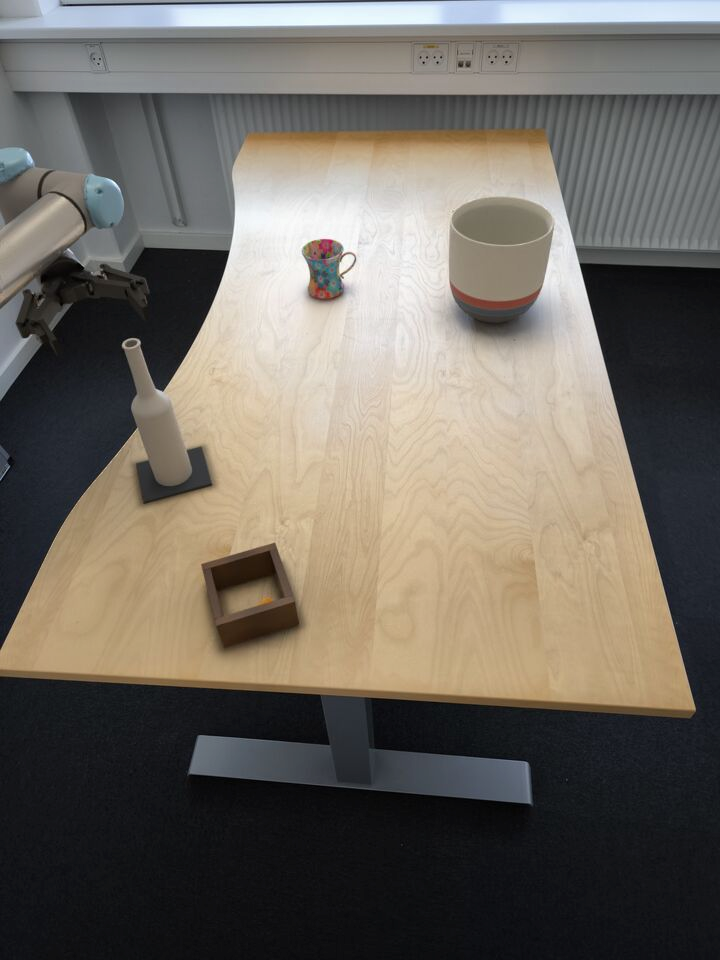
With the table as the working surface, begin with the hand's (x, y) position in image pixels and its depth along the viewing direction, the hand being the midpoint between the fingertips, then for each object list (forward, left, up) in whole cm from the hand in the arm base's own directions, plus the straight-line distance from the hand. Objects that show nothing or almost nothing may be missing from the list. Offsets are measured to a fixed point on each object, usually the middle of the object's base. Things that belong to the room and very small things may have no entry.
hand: (103, 331), depth 106 cm
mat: (+3, 0, -32) cm, 32 cm away
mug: (+47, +46, -32) cm, 73 cm away
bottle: (+3, 0, -31) cm, 31 cm away
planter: (+77, +24, -32) cm, 87 cm away
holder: (+10, -32, -32) cm, 46 cm away
